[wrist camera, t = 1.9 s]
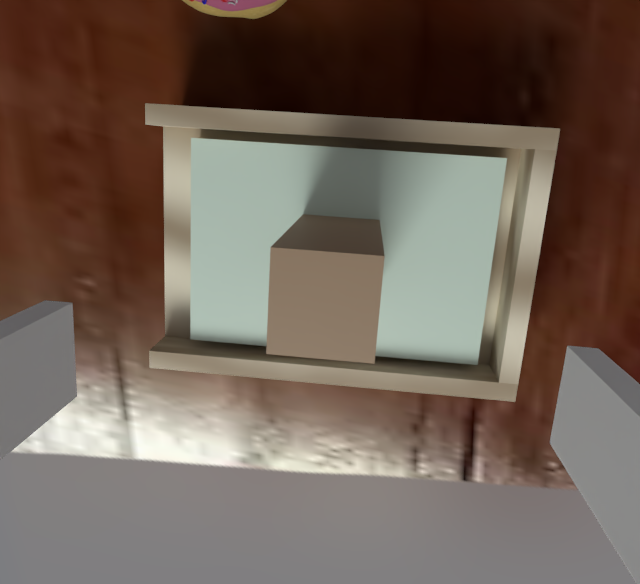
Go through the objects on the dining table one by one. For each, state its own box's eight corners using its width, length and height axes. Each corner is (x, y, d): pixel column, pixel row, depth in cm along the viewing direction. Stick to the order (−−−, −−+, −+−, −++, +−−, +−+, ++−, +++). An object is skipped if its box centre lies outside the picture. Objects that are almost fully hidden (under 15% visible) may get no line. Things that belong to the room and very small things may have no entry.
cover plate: (199, 138, 30) (101, 133, 19) (500, 157, 29) (580, 164, 18) (198, 330, 33) (111, 423, 22) (472, 355, 32) (527, 465, 21)
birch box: (181, 110, 33) (145, 103, 28) (528, 131, 32) (560, 128, 26) (181, 335, 37) (149, 367, 31) (493, 363, 35) (515, 401, 30)
